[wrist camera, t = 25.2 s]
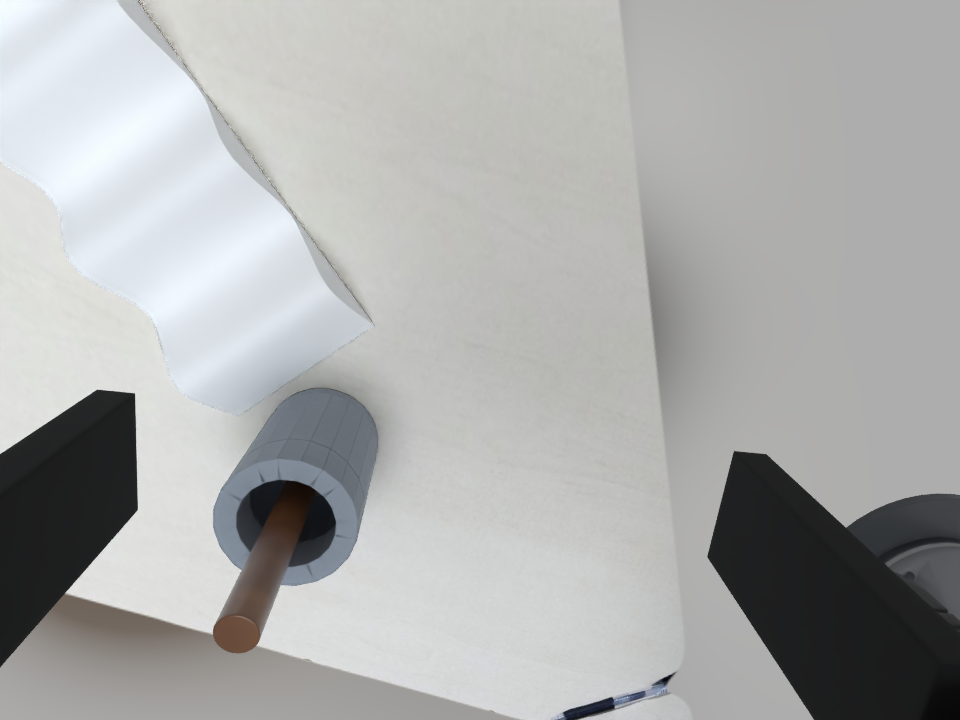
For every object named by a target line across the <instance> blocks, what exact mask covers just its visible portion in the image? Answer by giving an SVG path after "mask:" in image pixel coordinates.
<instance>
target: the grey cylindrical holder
mask: <svg viewBox="0 0 960 720" xmlns="http://www.w3.org/2000/svg"><path fill="white" fill-rule="evenodd" d="M377 448H378V435H377V430H376V426H375V424H374V421H373V419H372V417H371V416H370V414H369V413H368V411H367V410H366V409H365V408H364V407H363V406H362V405H361V404H360V403H359V402H358V401H356V400H355V399H354V398H352V397H350V396H349V395H347V394H344V393H342V392H339V391H336V390H331V389H322V388H317V389H309V390H304V391H301V392H298V393H296V394H294V395H292V396H290V397H289V398H287V399H286V400H285V401H283V402H282V403H281V404H280V405H279V406H278V408H277V409H276V410H275V412H274V413H273V414H272V415H271V416H270V418H269V419H268V421H267V422H266V424H265V425H264V427H263V428H262V430H261V431H260V433H259V434H258V436H257V437H256V439H255V440H254V441H253V443H252V444H251V446H250V447H249V449H248V450H247V452H246V453H245V455H244V456H243V458H242V459H241V461H240V462H239V464H238V465H237V467H236V468H235V470H234V471H233V473H232V474H231V476H230V477H229V479H228V480H227V481H226V483H225V484H224V486H223V487H222V489H221V491H220V493H219V496H218V498H217V501H216V503H215V506H214V512H213V528H214V531H215V534H216V537H217V540H218V543H219V545H220V547H221V549H222V550H223V552H224V553H225V554H226V555H227V557H228V558H229V559H230V561H231V562H232V563H233V564H234V565H235V566H237V567H238V568H240V569H241V570H242V569H243V567H244V565H245V563H246V561H247V559H248V557H249V555H250V553H251V551H252V549H253V547H254V545H255V543H256V541H257V539H258V537H259V534H260V532H261V530H262V528H263V526H264V524H265V522H266V520H267V518H268V516H269V514H270V512H271V510H272V508H273V506H274V504H275V502H276V500H277V498H278V496H279V494H280V492H281V490H282V488H283V486H284V485H283V483H282V481H281V480H289V481H298V482H301V483H303V484H306V485H308V486H311V487H312V488H313V489H315V490H316V491H317V492H319V493H320V494H321V495H320V496H317V497H314V500H313V503H312V505H311V508H310V510H309V513H308V515H307V518H306V521H305V523H304V526H303V528H302V531H301V534H300V536H299V539H298V541H297V544H296V547H295V549H294V552H293V554H292V557H291V559H290V562H289V565H288V567H287V570H286V572H285V575H284V578H283V580H282V583H281V585H290V586H294V585H295V586H297V585H302V584H307V583H312V582H315V581H318V580H320V579H322V578H324V577H326V576H328V575H330V574H332V573H334V571H336V570H337V569H338V568H339V567H340V566H341V565H342V564H343V563H344V562H345V561H346V560H347V559H348V557H349V556H350V554H351V552H352V550H353V547H354V545H355V543H356V541H357V537H358V533H359V529H360V525H361V520H362V516H363V512H364V507H365V503H366V499H367V495H368V490H369V486H370V482H371V477H372V473H373V469H374V464H375V460H376V453H377Z"/></svg>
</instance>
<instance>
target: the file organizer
mask: <svg viewBox="0 0 960 720" xmlns="http://www.w3.org/2000/svg"><path fill="white" fill-rule="evenodd" d="M0 163H2V164H3V165H5V166H7V167H8V168H10V169H11V170H13V171H15V172H16V173H18V174H20V175H21V176H23V177H25V178H26V179H28V180H29V181H31V182H32V183H34V184H35V185H36V186H38V187H39V188H40V189H41V190H42V191H43V192H45V193H46V194H47V195H48V197H49V198H50V199H51V200H52V202H53V203H54V205H55V207H56V209H57V211H58V214H59V219H60V226H61V233H62V240H63V247H64V251H65V253H66V256H67V258H68V259H69V261H70V263H71V264H72V266H73V267H74V268H75V269H76V270H77V271H78V272H79V273H80V274H81V275H83V276H84V277H85V278H86V279H88V280H90V281H91V282H93V283H95V284H96V285H98V286H100V287H102V288H104V289H106V290H108V291H110V292H112V293H114V294H116V295H118V296H120V297H122V298H124V299H126V300H128V301H129V302H131V303H133V304H135V305H136V306H137V307H139V308H140V309H142V310H143V311H144V312H145V313H146V314H147V315H148V316H149V317H150V318H151V320H152V322H153V325H154V328H155V331H156V334H157V337H158V340H159V343H160V346H161V349H162V352H163V355H164V359H165V362H166V366H167V370H168V373H169V376H170V378H171V380H172V382H173V383H174V385H175V386H176V388H177V389H178V390H179V391H180V392H181V393H183V394H184V395H185V396H187V397H188V398H190V399H192V400H194V401H197V402H199V403H202V404H204V405H207V406H209V407H212V408H215V409H218V410H221V411H224V412H227V413H230V414H233V415H236V416H239V415H240V414H242V413H243V412H245V411H246V410H248V409H249V408H251V407H252V406H254V405H255V404H257V403H258V402H260V401H261V400H263V399H264V398H266V397H267V396H269V395H270V394H272V393H273V392H275V391H276V390H278V389H279V388H281V387H282V386H284V385H285V384H287V383H288V382H290V381H291V380H293V379H294V378H296V377H297V376H299V375H300V374H302V373H303V372H305V371H306V370H308V369H309V368H311V367H312V366H314V365H316V364H317V363H319V362H320V361H322V360H323V359H325V358H326V357H328V356H329V355H331V354H332V353H334V352H335V351H337V350H338V349H340V348H341V347H343V346H344V345H346V344H347V343H349V342H350V341H352V340H353V339H355V338H356V337H358V336H359V335H361V334H362V333H364V332H365V331H367V330H368V329H370V328H371V327H373V326H374V324H373V323H372V322H371V320H370V319H369V317H368V316H367V315H366V313H365V312H364V311H363V309H362V308H361V306H360V305H359V304H358V302H357V301H356V300H355V298H354V297H353V296H352V294H351V293H350V291H349V290H348V289H347V287H346V286H345V285H344V283H343V282H342V280H341V279H340V278H339V276H338V275H337V274H336V272H335V271H334V270H333V268H332V267H331V265H330V264H329V263H328V261H327V260H326V259H325V257H324V256H323V254H322V253H321V252H320V250H319V249H318V248H317V246H316V245H315V244H314V242H313V241H312V239H311V238H310V237H309V235H308V234H307V233H306V231H305V230H304V228H303V227H302V226H301V224H300V223H299V222H298V220H297V219H296V217H295V216H294V215H293V213H292V212H291V211H290V209H289V208H288V207H287V205H286V204H285V202H284V201H283V200H282V198H281V197H280V196H279V194H278V193H277V191H276V190H275V189H274V187H273V186H272V185H271V183H270V182H269V181H268V179H267V178H266V176H265V175H264V174H263V172H262V171H261V170H260V168H259V167H258V165H257V164H256V163H255V161H254V160H253V159H252V157H251V156H250V155H249V153H248V152H247V150H246V149H245V148H244V146H243V145H242V144H241V142H240V141H239V139H238V138H237V137H236V135H235V134H234V133H233V131H232V130H231V129H230V127H229V126H228V124H227V123H226V122H225V120H224V119H223V118H222V116H221V115H220V113H219V112H218V111H217V109H216V108H215V107H214V105H213V104H212V102H211V101H210V100H209V98H208V97H207V96H206V94H205V93H204V92H203V90H202V89H201V87H200V86H199V85H198V83H197V82H196V81H195V79H194V78H193V76H192V75H191V74H190V72H189V71H188V70H187V68H186V67H185V66H184V64H183V63H182V61H181V60H180V59H179V57H178V56H177V55H176V53H175V52H174V50H173V49H172V48H171V46H170V45H169V44H168V42H167V41H166V40H165V38H164V37H163V35H162V34H161V33H160V31H159V30H158V29H157V27H156V26H155V24H154V23H153V22H152V20H151V19H150V18H149V16H148V15H147V13H146V12H145V11H144V9H143V8H142V7H141V5H140V4H139V3H138V1H137V0H0Z"/></svg>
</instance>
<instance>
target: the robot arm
mask: <svg viewBox="0 0 960 720" xmlns="http://www.w3.org/2000/svg"><path fill="white" fill-rule="evenodd" d="M137 510H138V500H137V458H136V416H135V393H125V392H115V391H104V390H96V391H95V392H93V393H92V394H90V395H89V396H87V397H86V398H84V399H83V400H81V401H80V402H78V403H77V404H75V405H74V406H72V407H71V408H69V409H68V410H66V411H65V412H63V413H62V414H60V415H59V416H57V417H56V418H54V419H53V420H51V421H49V422H48V423H46V424H45V425H43V426H42V427H40V428H39V429H37V430H36V431H34V432H33V433H31V434H30V435H28V436H27V437H25V438H24V439H22V440H21V441H19V442H18V443H16V444H15V445H13V446H12V447H10V448H9V449H7V450H6V451H4V452H3V453H1V454H0V667H1V666H2V665H3V663H4V662H5V661H6V660H7V659H8V658H9V656H10V655H11V654H12V653H13V652H14V651H15V650H16V649H17V647H18V646H19V645H20V644H21V643H22V642H23V641H24V639H25V638H26V637H27V636H28V635H29V634H30V632H31V631H32V630H33V629H34V628H35V626H36V625H38V623H39V622H40V621H41V620H42V619H43V618H44V616H45V615H46V614H47V613H48V612H49V611H50V610H51V608H52V607H53V606H54V605H55V604H56V603H57V601H58V600H59V599H60V598H61V597H62V596H63V595H64V594H65V593H66V591H67V590H68V589H69V588H70V587H71V586H72V585H73V583H74V582H75V581H76V580H77V579H78V578H79V577H80V575H81V574H82V573H83V572H84V571H85V570H86V569H87V567H88V566H89V565H90V564H91V563H92V562H93V560H94V559H95V558H96V557H97V556H98V555H99V554H100V552H101V551H102V550H103V549H104V548H105V547H106V546H107V544H108V543H109V542H110V541H111V540H112V539H113V538H114V536H115V535H116V534H117V533H118V532H119V531H120V530H121V528H122V527H123V526H124V525H125V524H126V523H127V522H128V520H129V519H130V518H131V517H132V516H133V515H134V514H135V512H136V511H137ZM708 559H709V560H710V562H711V563H712V565H713V566H714V568H715V569H716V571H717V572H718V574H719V575H720V577H721V579H722V580H723V582H724V583H725V585H726V586H727V588H728V589H729V591H730V592H731V594H732V595H733V597H734V598H735V600H736V601H737V603H738V604H739V606H740V607H741V609H742V610H743V612H744V613H745V615H746V617H747V618H748V620H749V621H750V622H751V624H752V626H753V627H754V629H755V630H756V632H757V633H758V635H759V636H760V638H761V639H762V641H763V643H764V644H765V645H766V647H767V648H768V650H769V652H770V653H771V655H772V656H773V658H774V659H775V661H776V662H777V664H778V665H779V667H780V668H781V670H782V671H783V673H784V674H785V676H786V678H787V679H788V681H789V682H790V684H791V685H792V686H793V688H794V690H795V691H796V693H797V694H798V696H799V697H800V699H801V700H802V702H803V703H804V705H805V706H806V708H807V709H808V711H809V713H810V714H811V716H812V717H813V719H814V720H960V540H958V539H952V538H927V539H921V540H917V541H913V542H910V543H907V544H904V545H902V546H899V547H897V548H895V549H893V550H891V551H889V552H888V553H886V554H884V555H883V556H881V557H880V558H878V557H877V556H876V555H875V554H874V553H873V552H872V551H870V550H869V549H868V548H867V547H866V546H865V545H864V544H863V543H862V542H861V541H860V540H859V539H857V538H856V537H855V536H854V535H853V534H852V533H851V532H850V531H849V530H848V529H847V528H845V527H844V526H843V525H842V524H841V523H840V522H839V521H838V520H837V519H836V518H835V517H833V515H831V514H830V513H829V512H828V511H827V510H826V509H825V508H824V507H823V506H822V505H820V504H819V503H818V502H817V501H816V500H815V499H814V498H813V497H812V496H811V495H810V494H809V493H808V492H806V491H805V490H804V489H803V488H802V487H801V486H800V485H799V484H798V483H797V482H796V481H795V480H793V479H792V478H791V477H790V476H789V475H788V474H787V473H786V472H785V471H784V470H783V469H782V468H780V467H779V466H778V465H777V464H776V463H775V462H774V461H773V460H772V459H771V458H770V457H769V456H768V455H766V454H757V453H747V452H737V451H734V453H733V457H732V461H731V465H730V469H729V473H728V477H727V481H726V485H725V489H724V493H723V497H722V501H721V505H720V509H719V513H718V517H717V520H716V525H715V529H714V532H713V536H712V540H711V545H710V548H709V552H708Z"/></svg>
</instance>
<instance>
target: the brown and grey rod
mask: <svg viewBox="0 0 960 720" xmlns="http://www.w3.org/2000/svg"><path fill="white" fill-rule="evenodd" d="M281 481H282V483H283V485H284V486H283V488H282V490H281V492H280V494H279V496H278V498H277V500H276V502H275V504H274V506H273V508H272V510H271V512H270V514H269V516H268V518H267V520H266V522H265V524H264V526H263V528H262V530H261V532H260V534H259V537H258V539H257V541H256V543H255V545H254V547H253V549H252V551H251V553H250V555H249V557H248V559H247V561H246V563H245V565H244V567H243V569H242V571H241V573H240V575H239V577H238V579H237V581H236V583H235V585H234V587H233V589H232V591H231V593H230V595H229V597H228V599H227V601H226V603H225V605H224V607H223V609H222V611H221V613H220V615H219V617H218V619H217V621H216V624H215V626H214V629H213V636H214V639H215V641H216V643H217V644H218V645H219V646H220V647H221V648H222V649H224V650H226V651H228V652H232V653H244V652H247V651H249V650H251V649H253V648H254V647H255V646H256V645H257V644H258V642H259V640H260V637H261V635H262V632H263V629H264V627H265V624H266V622H267V619H268V616H269V614H270V611H271V609H272V606H273V604H274V601H275V598H276V596H277V593H278V591H279V588H280V585H281V583H282V580H283V578H284V575H285V572H286V570H287V567H288V565H289V562H290V559H291V557H292V554H293V552H294V549H295V547H296V544H297V541H298V539H299V536H300V534H301V531H302V528H303V526H304V523H305V521H306V518H307V515H308V513H309V510H310V508H311V505H312V503H313V500H314V497H317V496H320V495H321V494H320V493H319V492H317V491H316V490H315V489H313V488H312V487H311V486H308V485H306V484H303V483H301V482H298V481H289V480H281Z"/></svg>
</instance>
